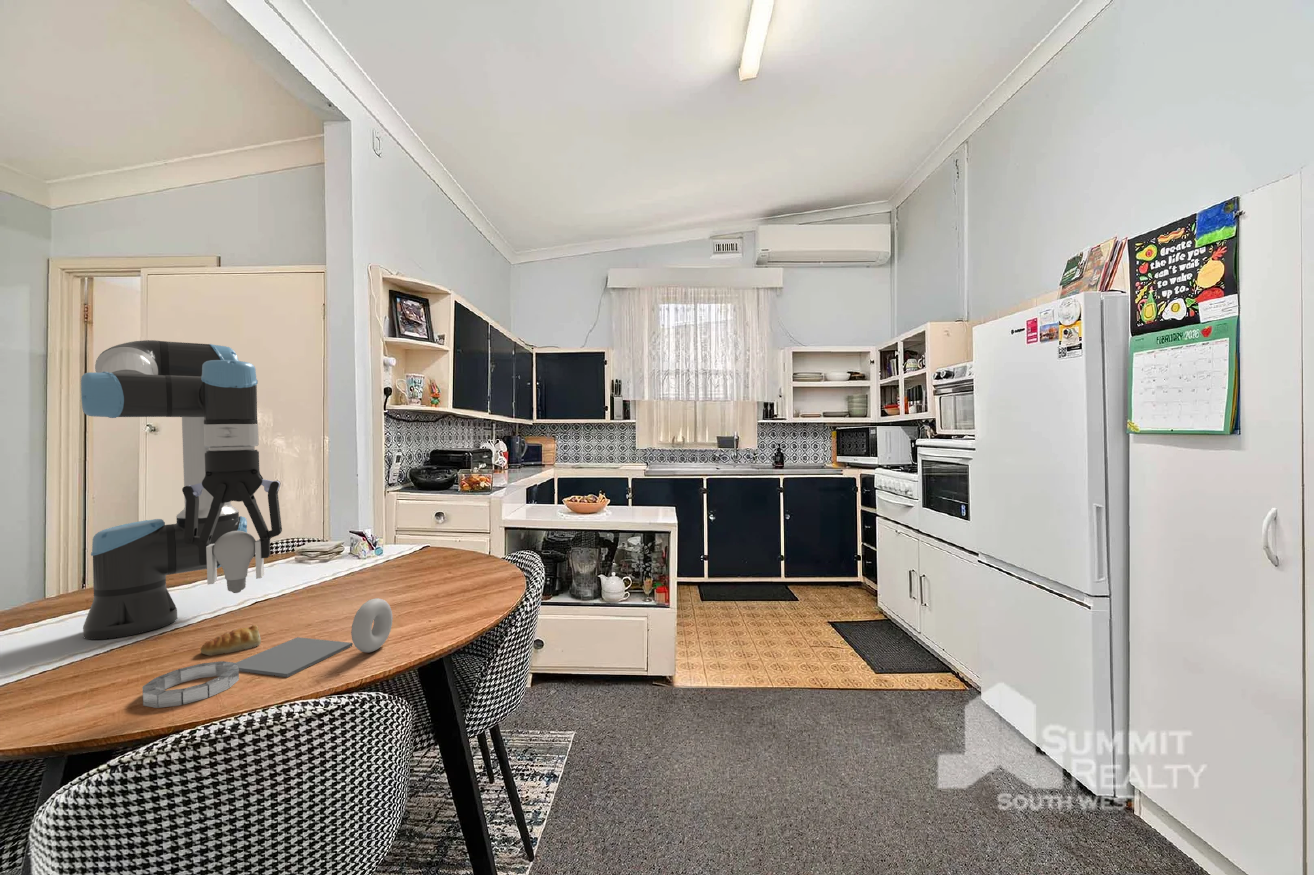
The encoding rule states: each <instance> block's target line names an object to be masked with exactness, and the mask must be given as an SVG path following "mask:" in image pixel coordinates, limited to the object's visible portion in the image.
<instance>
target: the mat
mask: <svg viewBox="0 0 1314 875" xmlns="http://www.w3.org/2000/svg"><path fill="white" fill-rule="evenodd" d="M352 645H353V646H354V643H353V642H347V641H339V640H337V641H336V640H331V639H330V640H329V639H319V638H308V637H299V636H297V637H294V638H292V639H290V640H287V641H285V642H283V643H280V644H277V645H275V646H273V647H270V648H268V649H266V650H263V651H261V652H258V653H256V654H253V655H251V656H248V657H246V658H244V659H242V660H239V661H237V662H235V663H236V664H237V666H238V668H239V672H241V673H242V672H243V673H249V672H250V673H251V674H258V675H266V676H267V675H268V676H274V675H275V677H281V678H289V677H291V676H293V675H295V674H297V673H299V672H302V671H303V669H304V670H306V669H307V667H308V668H310V667H312V666H314V665H316V664H318V663H320V662H323V661H324V660H326V659H329V658H330V657H332V656H335V655H336V653H337V654H339V653H341V652H343V651H345V650H346V649H349V648H351V647H353V646H352ZM350 646H351V647H350ZM344 649H345V650H344ZM342 650H343V651H342ZM334 654H335V655H334ZM309 666H310V667H309ZM305 668H306V669H305ZM301 670H302V671H301Z"/></svg>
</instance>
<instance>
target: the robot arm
mask: <svg viewBox="0 0 1314 875" xmlns="http://www.w3.org/2000/svg"><path fill="white" fill-rule="evenodd" d="M94 370H95V372H90V371H89V372H85V373H83V375H82V376H81V379H80V393H81V395H80V396H81V407H82V412H83V413H84V414H85V415H86V416H88V417H95V418H97V417H99V418H100V417H101V418H108V419H109V418H110V419H117V418H181V430H182V433H181V434H182V436H181V437H182V464H183V465H182V466H183V487H182V493H183V495H184V497H183V498H184V507H183V509H182V510H181V511H180V512H178V514H176V516H175V517H176V523H170V524H166V522H165V521H164V519H162V518H155V519H148V520H147V519H146V520H140V521H135V522H129V523H125V524H120V525H119V524H118V525H115V526H112V527H111V526H110V527H108V528H104V529H102V530H100V531H98V532H97V533H95V535H94V536H93V537H92V545H91V546H92V547H91V553H90V556H91V557H92V576H93V577H92V578H93V580H92V581H93V582H92V583H93V599H92V603H91V604H90V609H89V611H88V614H87V616H86V619H85V621H84V623H83V625H82V626H83V628H82V631H83V632H82V633H83V634H82V636H84V637H85V638H84V637H83V638H84V639H86V638H87V639H86V640H107V638H109V639H116V637H117V638H122V636H124V637H129V636H134V635H139V634H143V633H147V632H149V631H150V632H151V631H155V630H156V629H160V628H164V627H165V626H168V625H170V623H171V624H173V623H174V622H176V621H177V620H178V608H177V607H176V604H175V603H174V600H173V598H172V597H171V594H170V592H169V590H168V589H167V579H166V578H167V576H170V575H176V574H182V573H189V572H195V571H204V570H206V576H207V577H206V578H207V579H206V580H207V586H208V585H209V586H210V585H214V584H215V583H216V582H217V581H218V570H217V569H220V568H222V566H221V565H220V564H219V562H218V561H217V560H216V558H215V557H214V554H213V547H214V544H215V542H216V541H217V540H218V539H219V538H220V537H221V536H222V535H224V534H226V533H228V532H231V531H244V532H247V533H248V529H247V528H248V520H247V518H246V517H245V516H240V515H239V512H240V511H239V509H238V508H236V507H235V506H233V505H232V503H231V502H238V503H239V502H241V503H243V506H245V508H246V510H247V513H248V515H249V517H250V519H251V521H252V524H253V526H254V529H255V531H256V533H257V535H258V537H259V539H257V540H256V542H255V554H254V556H255V559H254V560H255V579H262V578H263V576H264V575H265V563H264V562H265V560H264V559H268V558H269V557H270V556H271V539H273V538H274V537H275V538H276V537H278V536H279V535H281V534H282V532H283V528H282V526H283V525H282V517H281V511H280V502H279V500H280V499H279V490H280V487H281V481H280V480H270V479H264V477H263V476H262V475H261V472H260V451H259V450H258V449H255V447H258V446H259V423H258V394H257V392H258V390H257V389H258V388H257V386H258V382H259V380H258V379H257V371H256V370H257V369H256V366H255V365H254V364H253V363H252V362H248V361H241V360H239V357H238V355H237V352H236V351H235V350H234V349H233V348H232V347H229V346H227V345H218V344H212V343H199V342H198V343H197V342H181V341H180V342H178V341H165V340H155V339H154V340H152V339H151V340H148V339H147V340H146V339H145V340H134V341H129V342H124V343H119V344H116V345H114V346H113V345H112V346H110V347H109V348H107V349H105V350H104V351H102V352H101V353H100V354H99V355H98V357H97V358H96V361H95V365H94ZM261 486H263V489H264V491H265V493H267V502H268V512H269V519H270V528H271V530H269V529H268V526H267V524H266V521H265V519H264V517H263V514H262V512H261V510H260V507H259V505H258V502H257V499H256V497H255V493H256V492H257V491H258V489H259V488H260V487H261ZM176 619H177V620H176ZM175 620H176V621H175Z"/></svg>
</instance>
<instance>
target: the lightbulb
mask: <svg viewBox="0 0 1314 875" xmlns="http://www.w3.org/2000/svg"><path fill="white" fill-rule="evenodd" d="M256 541H257V540H256V539H255V537H254V536H253V535H252V534H251V533H249V532H248V531H247V532H244V531H231V532H228V533H226V534H224V535H222V536H221V537H220V538H219V539H218V540H217V541H216V542H215V544H214V547H213V554H214V557H215V558H216V560H217V561H218V562H219V564H220V565H221V566H222V567H221V568H222V570H223V574H224V579H225V581H226V586H227V591H228V592H232V593H233V594H239V593H241V592H242V590H244V589H246V585H247V584H246V583H247V581H246V580H247V577H248V572H249V566H250V563H251V561H252V559H253V558H254V556H255V542H256Z"/></svg>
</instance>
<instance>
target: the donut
mask: <svg viewBox="0 0 1314 875" xmlns="http://www.w3.org/2000/svg"><path fill="white" fill-rule="evenodd" d="M392 627H393V611H392V608H391V605H390V604H389V603H388V601H387V600H385V599H382V598H378V597H376V598H372V599H368V600H366V602H364V603H363V604H362V605H361V606H360V607H359V609H357V612H356V613H355V615H354V617H353V621H352V624H351V632H350V634H351V640H352V643H353V646H354V647H355V648H356V649H357V650H359V651H360V652H362V653H367V654H368V653H372V652H374V651H375V652H376V651H378V650H379V649H380V648H381V647H382V646H383V645H384V644H385V642H387V640H388V638H389V636H390V633H391V630H392Z"/></svg>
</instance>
